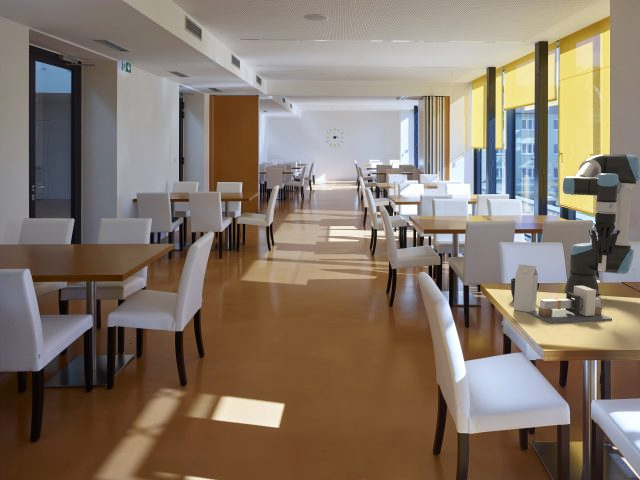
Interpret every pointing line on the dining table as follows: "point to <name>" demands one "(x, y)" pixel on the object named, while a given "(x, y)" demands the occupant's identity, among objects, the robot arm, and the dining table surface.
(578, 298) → the ring
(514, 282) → the mug
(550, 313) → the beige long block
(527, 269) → the milk carton
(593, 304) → the sleeve
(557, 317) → the board
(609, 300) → the dining table surface
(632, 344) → the dining table surface
